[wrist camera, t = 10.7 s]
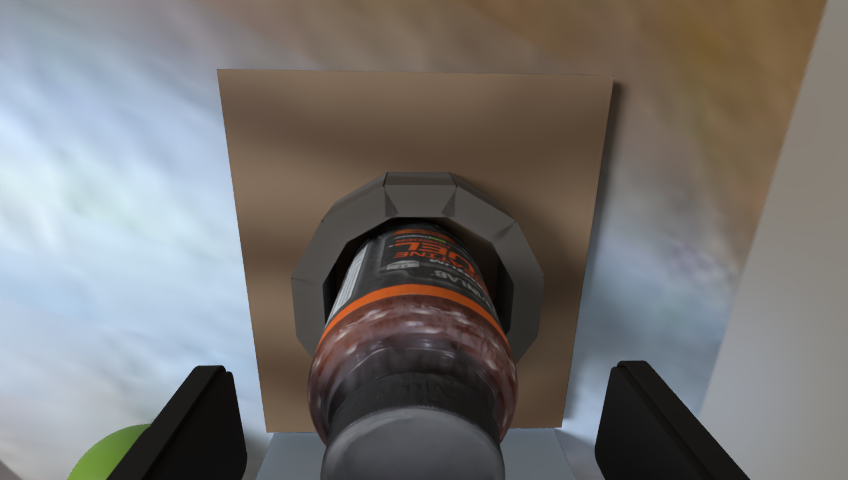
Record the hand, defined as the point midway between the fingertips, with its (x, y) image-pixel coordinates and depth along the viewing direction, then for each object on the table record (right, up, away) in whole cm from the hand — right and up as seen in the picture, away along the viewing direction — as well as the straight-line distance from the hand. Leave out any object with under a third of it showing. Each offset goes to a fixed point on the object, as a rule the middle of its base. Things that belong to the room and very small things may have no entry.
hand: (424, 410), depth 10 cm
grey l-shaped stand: (0, -5, +13) cm, 14 cm away
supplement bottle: (-1, +3, +9) cm, 10 cm away
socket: (0, +3, +10) cm, 11 cm away
